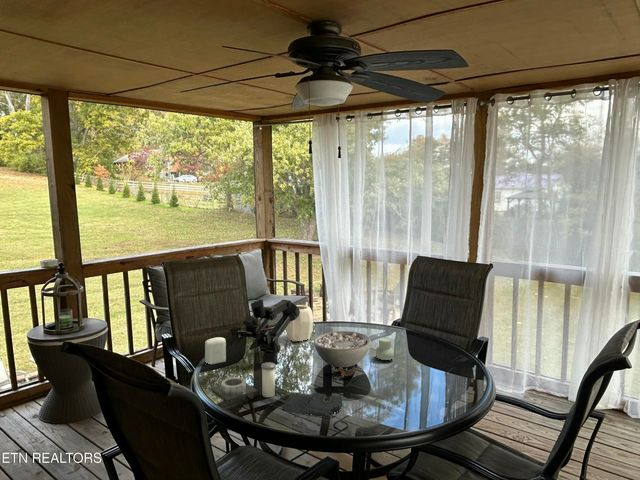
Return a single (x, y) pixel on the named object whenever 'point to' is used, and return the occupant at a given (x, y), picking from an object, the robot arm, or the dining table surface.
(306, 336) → the watering can
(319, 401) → the dark slate chunk
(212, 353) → the photo printer
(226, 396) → the segmented ring base
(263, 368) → the cream bottle
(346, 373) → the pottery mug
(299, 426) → the dining table surface
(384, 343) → the air freshener
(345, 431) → the dining table surface
